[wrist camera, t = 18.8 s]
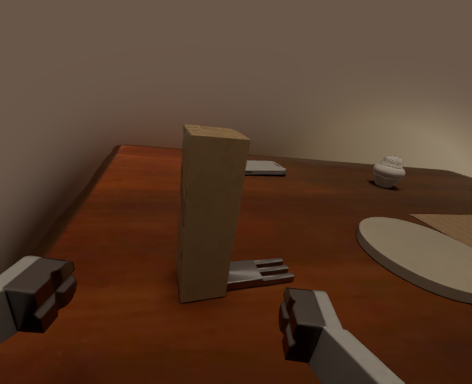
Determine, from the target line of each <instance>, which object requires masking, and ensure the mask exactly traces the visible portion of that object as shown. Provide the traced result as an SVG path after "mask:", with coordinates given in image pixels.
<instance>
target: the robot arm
mask: <svg viewBox="0 0 472 384" xmlns="http://www.w3.org/2000/svg"><path fill="white" fill-rule="evenodd" d="M74 270H75V269H74V264H73V262H71V261H66V260H59V259H52V258H45V257H36V256H27V257H24V258H22V259H21V260H20V261H18V262H17V263H16V264H14V265H13V266H12V267H10V268H9V269H7V270H6V271H5V272H3V273H2V274H1V275H0V343H2V342H3V341H5V340H7V339H8V338H10V337H11V336H13V335H14V334H16V333H17V331H21V332H33V333H44V332H45V331H46V330H47V329H48V328H49V326H50V325H51V324H52V323H53V322H54V320H55V319H56V318H57V317H58V310H59V309H61V308H63V307H65V306H67V305H68V303H69V302H70V301H71V300H72V298H73V296H74V294H75V292H76V287H77V281H76V278H75V277H74V276H73V275H72V272H73V271H74ZM283 296H284V301H283V302H282V303H281V305H280V309H279V327H280V331H281V332H282V333H283V334H284V336H283V339H282V345H283V351H284V356H285V360H290V361H297V362H304V363H309V366H310V367H311V369H312V370H313V372H314V373H315V375H316V376H317V377H318V379H319V380H320V382H321V383H322V384H405V383H404V382H403V381H402V380H401V379H400V378H398V377H397V376H396V375H395V374H394V373H393V372H392V371H391V370H390V369H389V368H388V367H387V366H385V365H384V364H383V363H382V362H381V361H380V360H379V359H378V358H377V357H376V356H375V355H373V354H372V353H371V352H370V351H369V350H368V349H367V348H366V347H365V346H364V345H363V344H362V343H360V342H359V341H358V340H357V339H356V338H355V337H354V336H353V335H352V334H351V333H350V332H348V331H347V330H343V329H342V326H341V324H340V322H339V320H338V317H337V315H336V313H335V311H334V309H333V306H332V304H331V302H330V300H329V297H328V295H327V293H326V292H325V291H315V290H305V289H296V288H287V287H286V289H285V291H284V294H283Z"/></svg>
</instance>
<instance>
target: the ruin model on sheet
mask: <svg viewBox="0 0 472 384" xmlns="http://www.w3.org/2000/svg"><path fill="white" fill-rule="evenodd" d="M410 215H412V216H414V217H416V218H417V219H419V220H421V221H423V222H425V223H427V224H428V225H430V226H432V227H434V228H436V229H437V230H439V231H441V232H443V233H445V234H447V235H448V236H450V237H452V238H454V239H456V240H458V241H459V242H461V243H463V244H465V245H467V246H468V247H470V248H472V215H434V214H410Z"/></svg>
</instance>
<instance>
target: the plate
mask: <svg viewBox="0 0 472 384" xmlns="http://www.w3.org/2000/svg"><path fill="white" fill-rule="evenodd" d="M356 237H357V240H358V242H359V244H360V245H361V247H362V248H363V249H364V250H365V251H366V252H367V253H368V254H369V255H370V256H371V257H372V258H373V259H374V260H376V261H377V262H378V263H379V264H381V265H382V266H384V267H385V268H386V269H388V270H390V271H391V272H393V273H394V274H396V275H398V276H399V277H401V278H403V279H405V280H407V281H409V282H410V283H412V284H414V285H417V286H419V287H421V288H423V289H425V290H428V291H430V292H433V293H435V294H438V295H441V296H444V297H447V298H450V299H453V300H457V301H461V302H465V303H470V304H472V248H470V247H468V246H467V245H465V244H463V243H461V242H459V241H457V240H455V239H453V238H451V237H449V236H446V235H444V234H442V233H439V232H437V231H434V230H432V229H429V228H426V227H423V226H421V225H417V224H414V223H411V222H407V221H403V220H398V219H393V218H386V217H371V218H366V219H364V220H362V221H361V222H360V224H359V226H358V229H357V232H356Z"/></svg>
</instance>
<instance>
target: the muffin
mask: <svg viewBox="0 0 472 384" xmlns="http://www.w3.org/2000/svg"><path fill="white" fill-rule="evenodd" d="M402 168H403V167H402V160H401V159H400V158H398V157H395V156H386V157H385V158H384V160H383V161H381V162H380V163H378V164H376V165H375V166H374V167H373V170H374V172H373V175H374V181H375V184H376V185H378V186H381V187H385V188H391V187H392V186H394V185H395V184H396V183H397V182H399V181H400V180H401V178H403V177H404V176H405V171H404V170H403V169H402Z"/></svg>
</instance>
